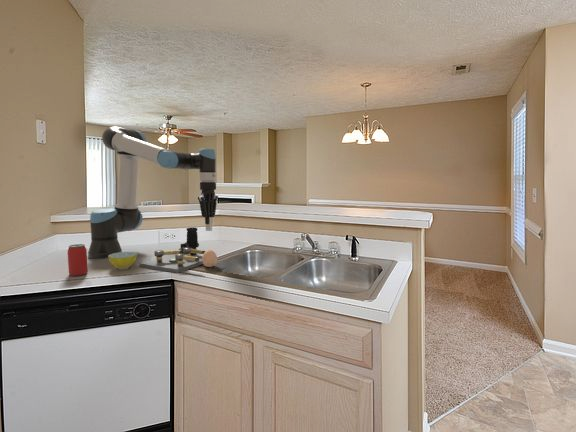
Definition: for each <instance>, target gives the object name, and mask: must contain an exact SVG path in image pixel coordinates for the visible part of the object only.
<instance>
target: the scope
mask: <svg viewBox="0 0 576 432" xmlns="http://www.w3.org/2000/svg"><path fill="white" fill-rule="evenodd" d="M186 231H187V232H186V242H184V243H180V247H179V248H178V250H182V251H183V248H187V247H190V248H192V249H197V248H199V246H200V244H199V239H198V238H199V237H198V227H187V228H186ZM182 254H185V253H182ZM190 256H197V254H196V253H190Z"/></svg>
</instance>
